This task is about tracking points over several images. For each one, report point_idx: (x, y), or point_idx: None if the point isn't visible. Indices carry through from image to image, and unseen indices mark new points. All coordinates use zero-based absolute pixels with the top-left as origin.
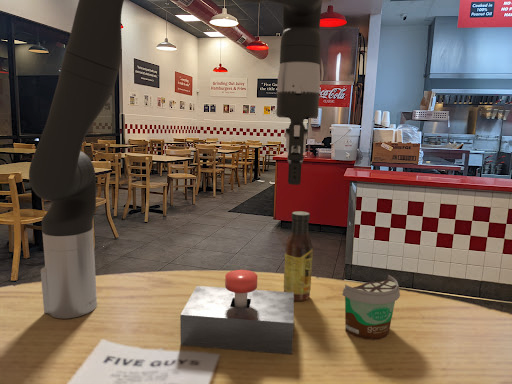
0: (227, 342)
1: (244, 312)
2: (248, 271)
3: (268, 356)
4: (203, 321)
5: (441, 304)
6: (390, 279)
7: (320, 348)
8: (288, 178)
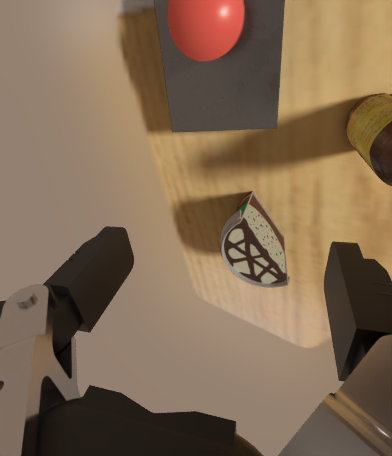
0: None
1: None
2: (234, 29)
3: None
4: None
5: None
6: (281, 282)
7: (207, 156)
8: (97, 237)
